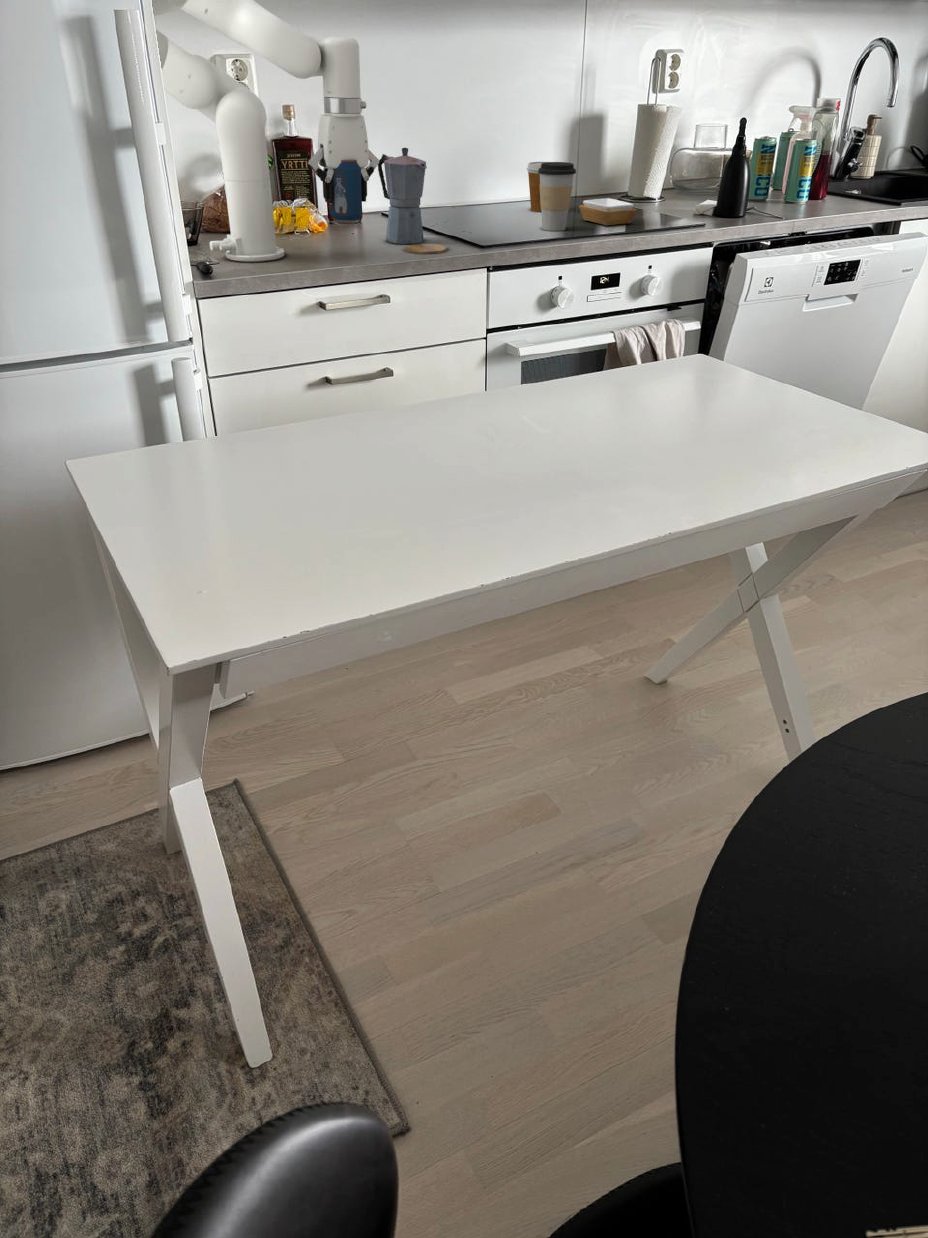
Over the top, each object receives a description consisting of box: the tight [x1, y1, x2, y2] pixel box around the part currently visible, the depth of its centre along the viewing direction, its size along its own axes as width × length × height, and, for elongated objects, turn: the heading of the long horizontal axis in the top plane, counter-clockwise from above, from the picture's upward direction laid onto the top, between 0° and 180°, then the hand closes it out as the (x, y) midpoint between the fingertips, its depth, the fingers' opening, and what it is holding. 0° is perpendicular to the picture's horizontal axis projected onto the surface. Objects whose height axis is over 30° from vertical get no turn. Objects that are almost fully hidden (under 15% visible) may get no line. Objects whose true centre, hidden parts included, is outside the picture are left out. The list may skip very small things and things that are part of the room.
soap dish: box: [578, 197, 638, 227], centre depth 243 cm, size 12×10×5 cm
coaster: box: [405, 243, 447, 255], centre depth 211 cm, size 9×9×1 cm
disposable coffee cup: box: [526, 161, 546, 213], centre depth 259 cm, size 10×10×12 cm
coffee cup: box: [538, 161, 577, 232], centre depth 232 cm, size 9×9×15 cm
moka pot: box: [377, 147, 428, 245], centre depth 215 cm, size 10×15×20 cm, turn 53°
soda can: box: [329, 160, 363, 223], centre depth 199 cm, size 7×7×12 cm
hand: (345, 200), depth 200 cm, fingers closed on soda can, 7 cm apart
